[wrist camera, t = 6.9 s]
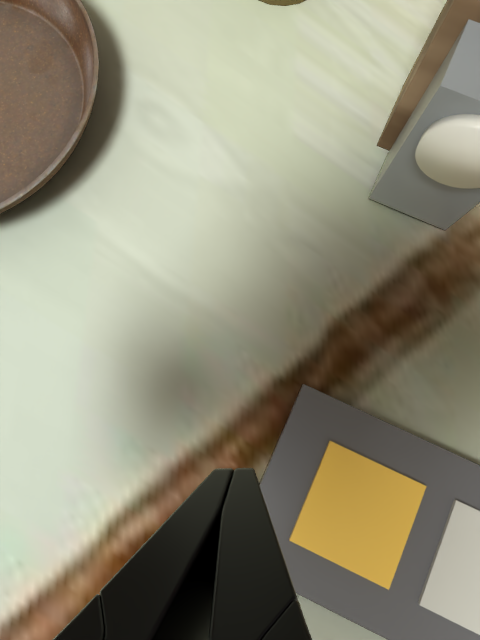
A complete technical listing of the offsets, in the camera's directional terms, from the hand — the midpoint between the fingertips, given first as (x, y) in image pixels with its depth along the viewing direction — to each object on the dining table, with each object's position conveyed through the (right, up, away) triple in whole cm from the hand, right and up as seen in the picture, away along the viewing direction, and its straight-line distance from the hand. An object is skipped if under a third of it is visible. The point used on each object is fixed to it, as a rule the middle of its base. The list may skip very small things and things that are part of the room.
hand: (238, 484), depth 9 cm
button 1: (+10, +11, +14) cm, 20 cm away
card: (+9, -7, +11) cm, 16 cm away
